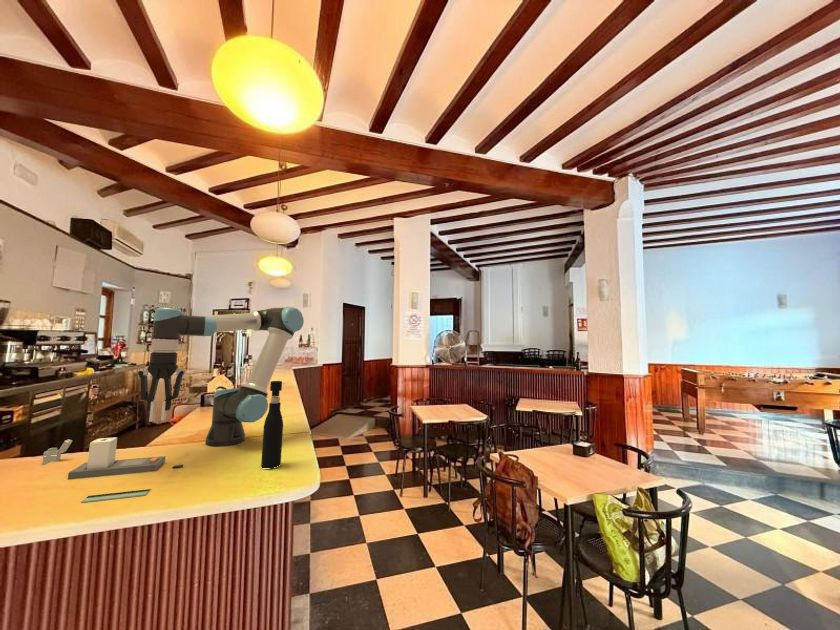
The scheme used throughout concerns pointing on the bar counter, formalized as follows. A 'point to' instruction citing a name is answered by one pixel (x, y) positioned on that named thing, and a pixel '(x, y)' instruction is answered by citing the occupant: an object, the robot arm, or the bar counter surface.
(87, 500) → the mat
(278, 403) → the wine bottle
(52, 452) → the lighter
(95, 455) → the charger
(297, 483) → the bar counter surface
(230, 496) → the bar counter surface
